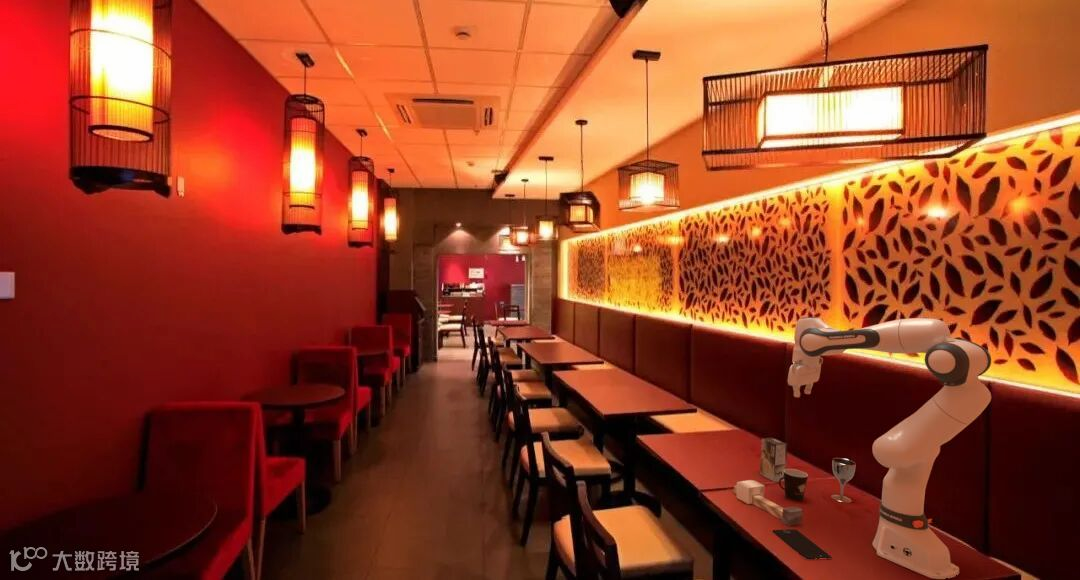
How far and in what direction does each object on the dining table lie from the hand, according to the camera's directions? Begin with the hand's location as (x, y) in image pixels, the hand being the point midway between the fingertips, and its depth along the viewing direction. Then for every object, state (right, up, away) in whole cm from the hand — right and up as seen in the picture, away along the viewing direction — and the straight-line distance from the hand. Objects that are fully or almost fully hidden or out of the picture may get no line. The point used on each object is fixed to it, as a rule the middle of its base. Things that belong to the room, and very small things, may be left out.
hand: (802, 395), depth 199 cm
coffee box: (+1, -42, +29) cm, 51 cm away
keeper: (-18, -41, +4) cm, 45 cm away
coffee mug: (-1, -42, +8) cm, 43 cm away
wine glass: (+20, -43, +10) cm, 49 cm away
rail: (-16, -42, -3) cm, 45 cm away
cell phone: (-15, -43, -29) cm, 54 cm away
